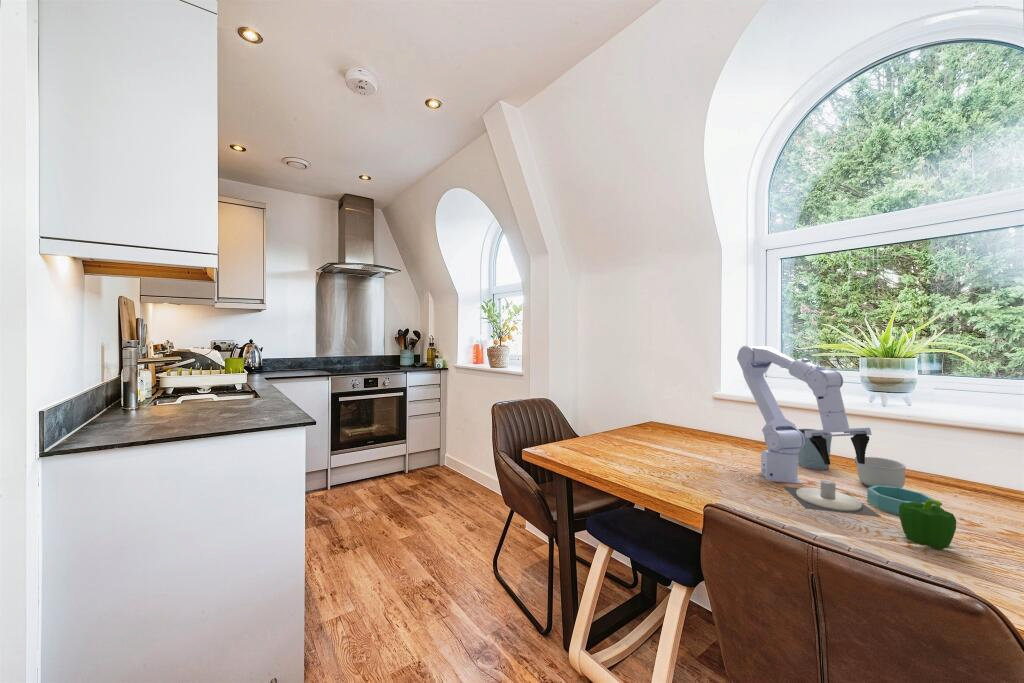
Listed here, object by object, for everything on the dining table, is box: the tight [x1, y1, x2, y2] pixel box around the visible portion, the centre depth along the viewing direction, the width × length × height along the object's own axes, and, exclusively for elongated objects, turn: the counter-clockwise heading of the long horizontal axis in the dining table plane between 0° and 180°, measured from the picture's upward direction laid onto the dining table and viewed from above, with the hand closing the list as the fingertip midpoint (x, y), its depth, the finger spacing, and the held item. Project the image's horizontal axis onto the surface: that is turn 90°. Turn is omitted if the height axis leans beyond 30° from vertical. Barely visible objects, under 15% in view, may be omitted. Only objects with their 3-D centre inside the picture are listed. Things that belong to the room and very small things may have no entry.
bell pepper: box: [898, 498, 957, 550], centre depth 87 cm, size 8×8×10 cm
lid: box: [796, 480, 863, 511], centre depth 109 cm, size 14×14×5 cm
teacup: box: [854, 456, 907, 488], centre depth 122 cm, size 14×11×8 cm
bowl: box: [866, 485, 937, 516], centre depth 105 cm, size 12×12×4 cm
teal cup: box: [797, 428, 833, 471], centre depth 141 cm, size 10×10×12 cm
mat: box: [783, 486, 882, 518], centre depth 110 cm, size 16×16×1 cm
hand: (844, 464), depth 109 cm, fingers open, 7 cm apart
